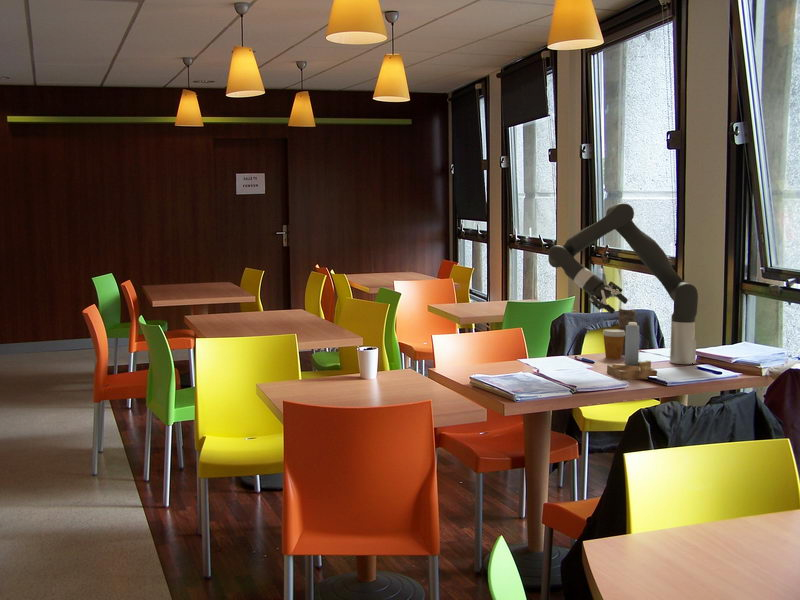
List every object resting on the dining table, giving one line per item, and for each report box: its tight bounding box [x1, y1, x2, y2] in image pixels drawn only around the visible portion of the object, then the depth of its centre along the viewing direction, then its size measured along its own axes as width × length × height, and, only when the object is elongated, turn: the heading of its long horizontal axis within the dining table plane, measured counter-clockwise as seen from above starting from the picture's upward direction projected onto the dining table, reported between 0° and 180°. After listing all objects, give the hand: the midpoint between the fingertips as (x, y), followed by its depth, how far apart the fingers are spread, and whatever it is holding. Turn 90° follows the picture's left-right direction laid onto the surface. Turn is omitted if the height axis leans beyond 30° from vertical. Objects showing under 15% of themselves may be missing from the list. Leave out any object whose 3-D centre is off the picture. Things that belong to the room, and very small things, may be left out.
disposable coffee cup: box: [602, 328, 625, 360], centre depth 355 cm, size 10×10×12 cm
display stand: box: [606, 360, 658, 381], centre depth 316 cm, size 15×15×6 cm
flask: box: [624, 322, 640, 366], centre depth 315 cm, size 5×5×17 cm
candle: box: [618, 308, 637, 355], centre depth 366 cm, size 8×7×20 cm
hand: (620, 307), depth 324 cm, fingers open, 8 cm apart
